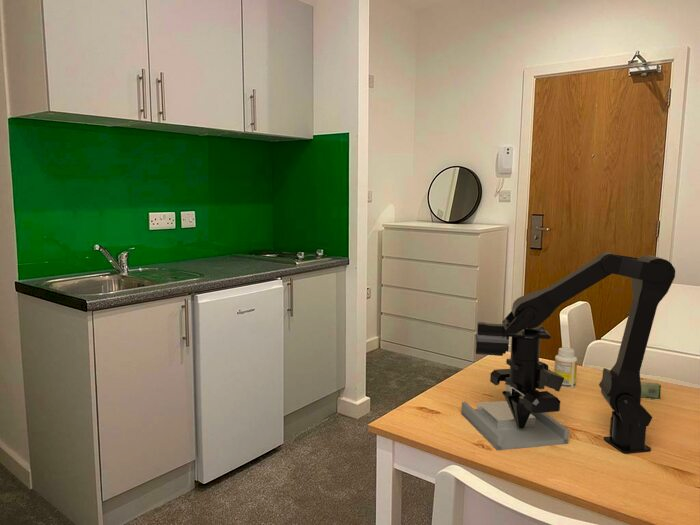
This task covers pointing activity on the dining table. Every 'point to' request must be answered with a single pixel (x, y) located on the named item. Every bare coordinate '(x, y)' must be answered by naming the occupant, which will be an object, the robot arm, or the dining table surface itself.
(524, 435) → the slide box
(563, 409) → the dining table surface
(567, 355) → the supplement bottle
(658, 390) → the medication box
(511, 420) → the cover plate
